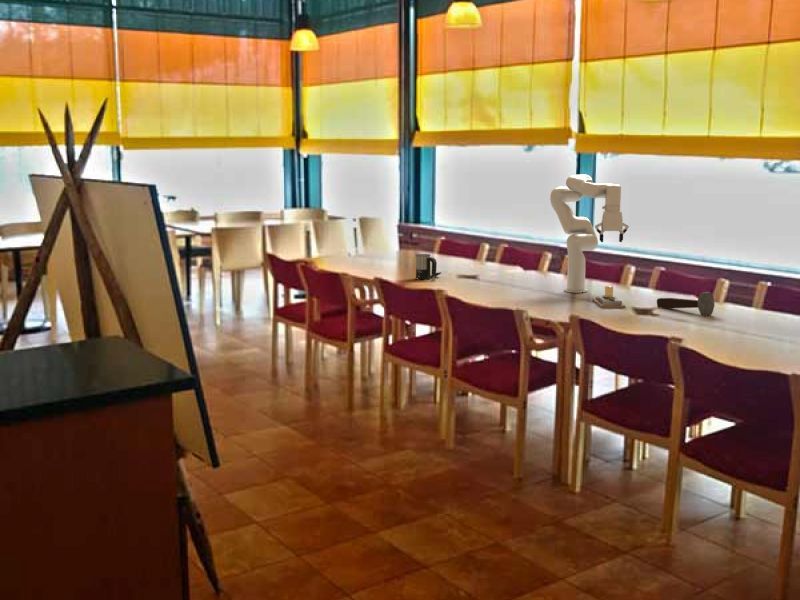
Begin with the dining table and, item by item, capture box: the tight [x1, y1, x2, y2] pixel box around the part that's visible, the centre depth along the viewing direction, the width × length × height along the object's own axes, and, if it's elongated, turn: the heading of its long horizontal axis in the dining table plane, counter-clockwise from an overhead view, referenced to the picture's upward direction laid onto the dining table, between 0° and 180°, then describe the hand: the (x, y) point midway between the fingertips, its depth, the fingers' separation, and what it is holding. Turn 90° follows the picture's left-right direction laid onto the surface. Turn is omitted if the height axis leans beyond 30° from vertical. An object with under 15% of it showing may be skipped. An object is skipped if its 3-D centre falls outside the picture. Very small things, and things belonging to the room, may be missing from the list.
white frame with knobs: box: [591, 294, 626, 309], centre depth 435 cm, size 20×12×4 cm, turn 0°
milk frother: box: [415, 253, 442, 280], centre depth 517 cm, size 14×16×15 cm
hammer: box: [656, 291, 715, 316], centre depth 416 cm, size 5×11×30 cm
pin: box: [604, 285, 614, 299], centre depth 434 cm, size 4×4×9 cm
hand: (611, 241), depth 442 cm, fingers open, 9 cm apart
